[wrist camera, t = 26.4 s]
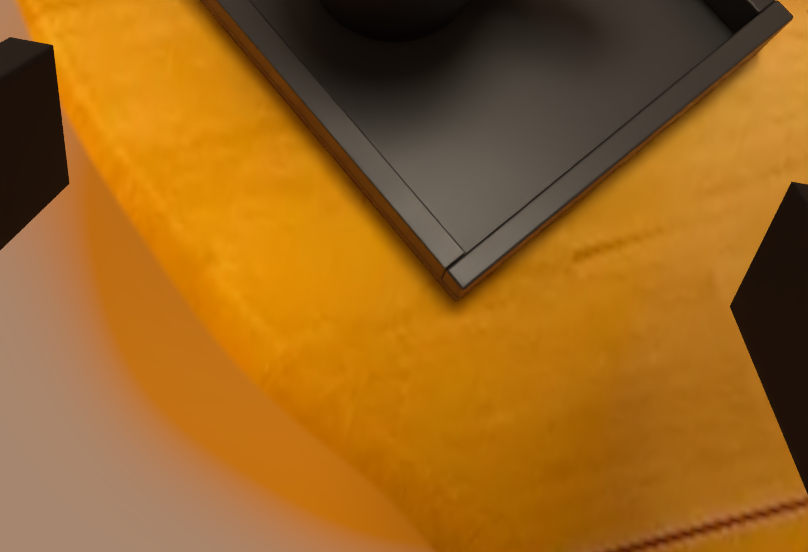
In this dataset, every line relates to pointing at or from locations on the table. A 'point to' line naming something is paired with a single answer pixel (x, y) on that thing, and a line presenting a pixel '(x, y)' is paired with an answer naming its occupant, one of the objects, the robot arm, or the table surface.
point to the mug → (394, 17)
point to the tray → (495, 105)
